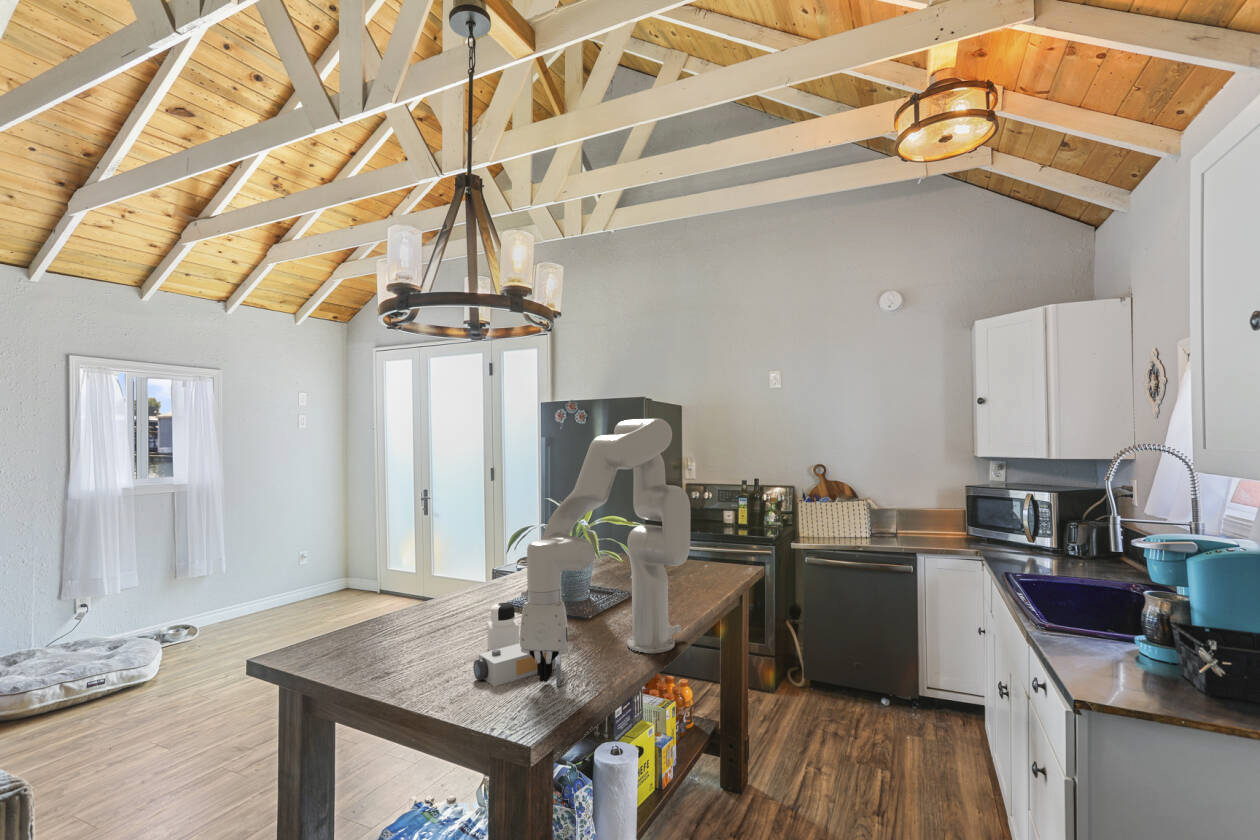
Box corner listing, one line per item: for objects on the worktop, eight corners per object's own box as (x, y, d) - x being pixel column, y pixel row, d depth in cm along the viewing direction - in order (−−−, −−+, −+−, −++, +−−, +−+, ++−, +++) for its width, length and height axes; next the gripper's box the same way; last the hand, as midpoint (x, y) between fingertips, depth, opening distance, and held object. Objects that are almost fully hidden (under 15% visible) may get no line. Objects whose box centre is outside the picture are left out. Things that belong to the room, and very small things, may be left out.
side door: (558, 665, 142) (557, 646, 142) (564, 665, 142) (563, 646, 142) (556, 685, 130) (556, 664, 130) (562, 685, 130) (562, 664, 130)
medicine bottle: (514, 644, 158) (514, 599, 158) (519, 653, 151) (518, 606, 152) (487, 648, 155) (487, 602, 156) (491, 657, 149) (490, 609, 149)
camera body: (538, 658, 147) (538, 635, 148) (555, 667, 141) (555, 643, 141) (471, 677, 136) (471, 652, 136) (487, 688, 130) (487, 662, 130)
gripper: (506, 600, 129) (507, 685, 129) (573, 601, 128) (573, 688, 127) (517, 591, 137) (518, 671, 136) (580, 593, 135) (581, 674, 134)
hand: (544, 679), depth 131 cm, fingers closed
